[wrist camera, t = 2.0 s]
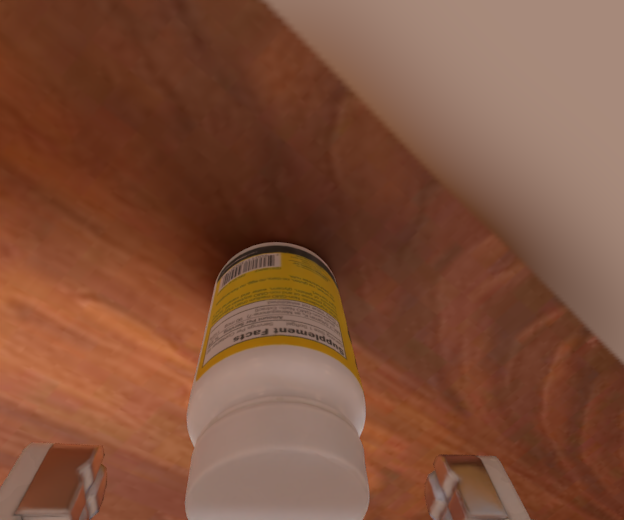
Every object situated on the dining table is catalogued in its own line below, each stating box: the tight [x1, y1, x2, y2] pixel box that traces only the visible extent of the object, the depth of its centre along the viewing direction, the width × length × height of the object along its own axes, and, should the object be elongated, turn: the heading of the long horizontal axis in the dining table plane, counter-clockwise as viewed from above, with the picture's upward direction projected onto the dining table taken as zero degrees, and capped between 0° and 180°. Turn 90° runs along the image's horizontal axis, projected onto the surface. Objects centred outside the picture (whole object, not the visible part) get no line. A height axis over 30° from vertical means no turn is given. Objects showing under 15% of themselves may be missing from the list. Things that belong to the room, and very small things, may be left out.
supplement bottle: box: [185, 242, 369, 520], centre depth 13 cm, size 5×5×8 cm
